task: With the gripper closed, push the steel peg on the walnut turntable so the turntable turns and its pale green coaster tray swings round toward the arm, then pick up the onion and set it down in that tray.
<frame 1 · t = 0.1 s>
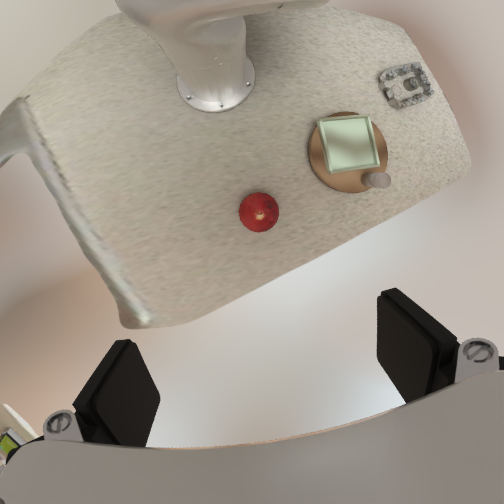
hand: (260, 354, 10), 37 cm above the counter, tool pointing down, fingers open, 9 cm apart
egg carton: (400, 87, 40), on the counter
onion: (257, 209, 45), on the counter
tea box: (15, 437, 64), on the counter
turntable: (356, 150, 38), point 5 cm above the counter, hinge at 0.0°
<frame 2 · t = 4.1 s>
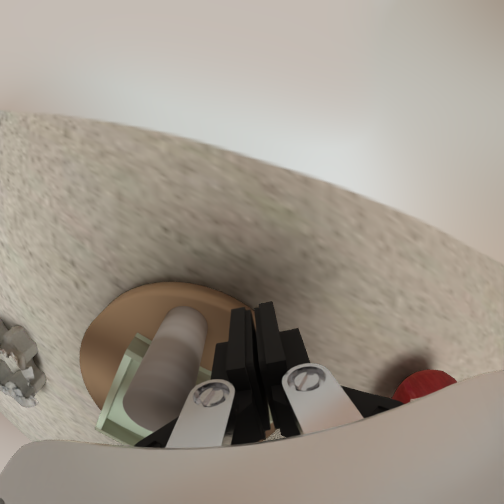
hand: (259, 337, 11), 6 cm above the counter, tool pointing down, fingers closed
egg carton: (8, 346, 18), on the counter
onion: (405, 378, 19), on the counter
turntable: (172, 420, 13), point 5 cm above the counter, hinge at 1.2°, touching gripper
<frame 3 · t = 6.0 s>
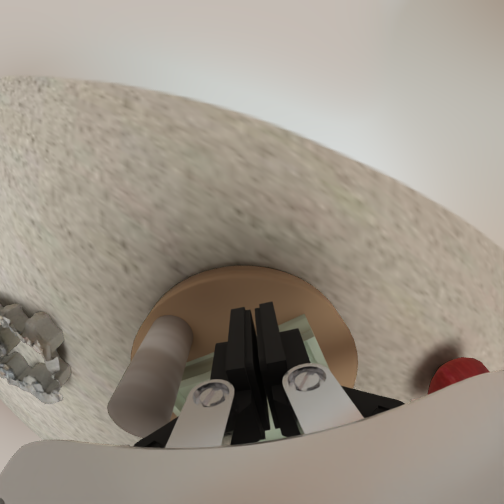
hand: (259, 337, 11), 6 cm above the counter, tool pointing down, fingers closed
egg carton: (27, 336, 18), on the counter
onion: (438, 367, 19), on the counter
turntable: (244, 412, 13), point 5 cm above the counter, hinge at 60.6°
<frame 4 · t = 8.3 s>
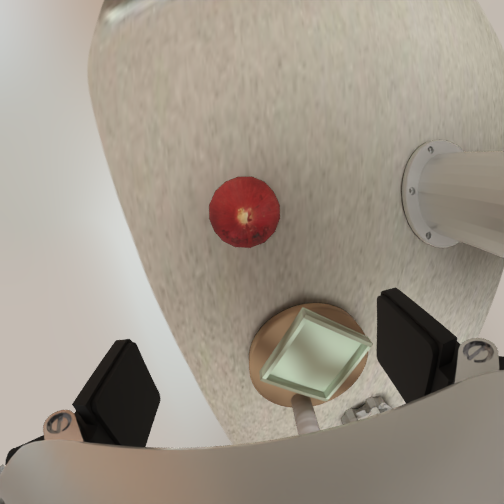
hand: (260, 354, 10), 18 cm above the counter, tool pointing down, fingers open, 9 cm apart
egg carton: (367, 417, 36), on the counter
onion: (244, 207, 27), on the counter
turntable: (315, 377, 26), point 5 cm above the counter, hinge at 60.6°
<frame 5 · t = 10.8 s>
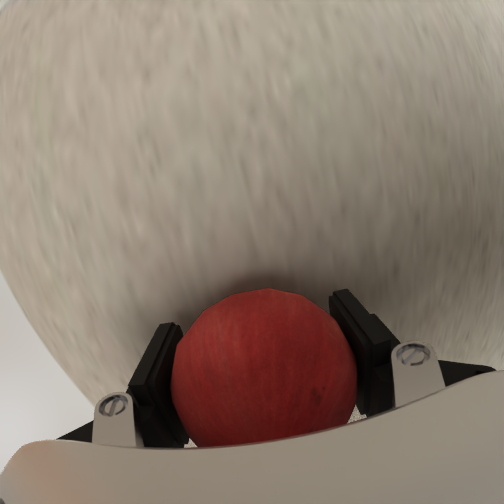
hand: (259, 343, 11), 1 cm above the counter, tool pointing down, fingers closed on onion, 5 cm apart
onion: (258, 323, 12), on the counter, touching gripper
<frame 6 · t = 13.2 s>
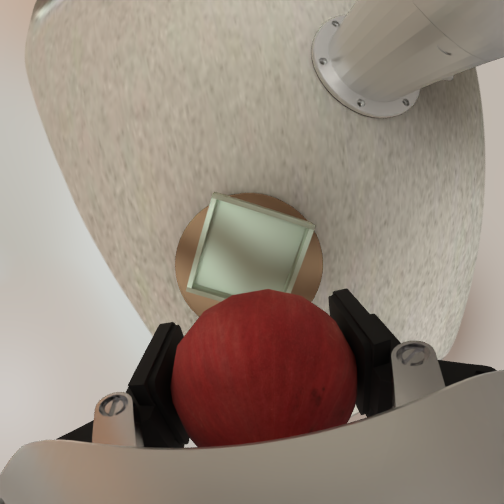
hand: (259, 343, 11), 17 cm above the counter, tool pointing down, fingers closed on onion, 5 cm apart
onion: (258, 324, 12), point 16 cm above the counter, touching gripper
turntable: (249, 277, 23), point 5 cm above the counter, hinge at 60.6°
when the fingers open (6 cm above the counter, at t = 15.7 s): onion drops 1 cm, resting on turntable.
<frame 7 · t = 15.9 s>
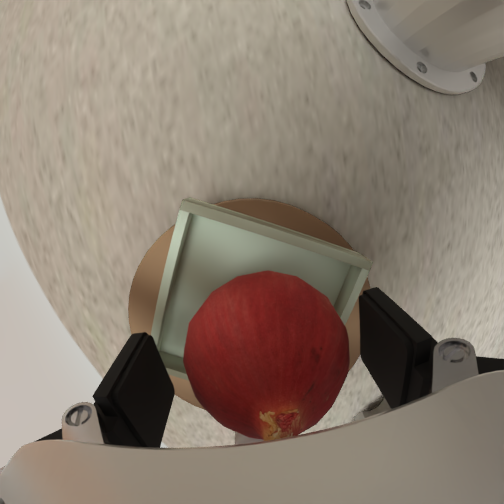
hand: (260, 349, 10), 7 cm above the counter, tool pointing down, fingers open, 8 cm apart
onion: (257, 309, 13), point 4 cm above the counter, touching turntable
turntable: (252, 354, 12), point 5 cm above the counter, hinge at 60.6°, touching onion
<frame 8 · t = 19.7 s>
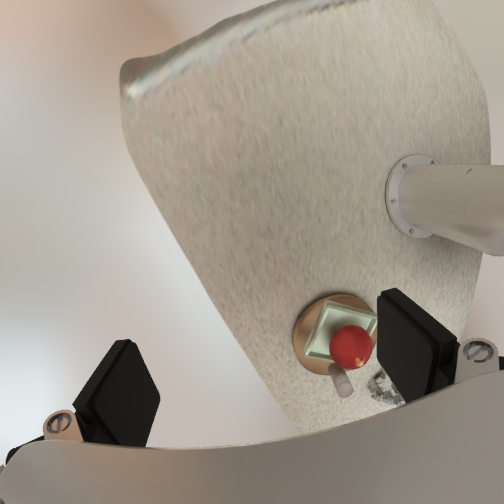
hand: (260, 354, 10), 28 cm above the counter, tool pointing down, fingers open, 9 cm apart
egg carton: (391, 378, 46), on the counter
onion: (342, 332, 38), point 3 cm above the counter, touching turntable
turntable: (342, 347, 36), point 5 cm above the counter, hinge at 60.6°, touching onion
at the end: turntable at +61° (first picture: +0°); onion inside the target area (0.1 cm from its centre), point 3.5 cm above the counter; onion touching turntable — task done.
